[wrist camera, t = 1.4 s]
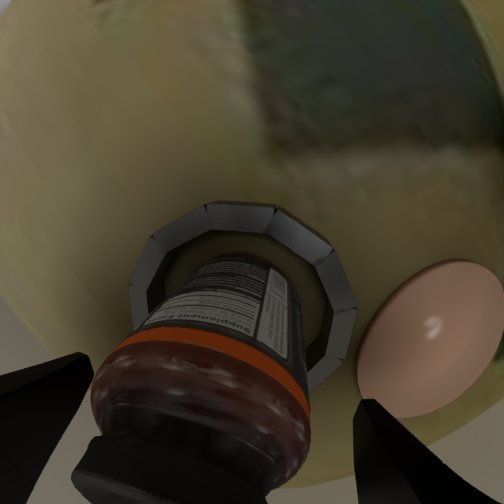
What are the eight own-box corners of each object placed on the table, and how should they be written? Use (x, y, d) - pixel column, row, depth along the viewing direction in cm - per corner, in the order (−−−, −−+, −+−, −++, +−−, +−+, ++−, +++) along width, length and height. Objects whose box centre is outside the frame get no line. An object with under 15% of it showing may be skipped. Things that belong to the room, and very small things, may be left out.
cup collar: (359, 212, 12) (372, 218, 10) (324, 390, 14) (327, 413, 12) (145, 198, 13) (124, 201, 11) (157, 368, 16) (144, 387, 14)
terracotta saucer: (516, 265, 11) (523, 269, 10) (463, 400, 14) (466, 406, 13) (380, 250, 12) (385, 254, 11) (336, 414, 15) (337, 423, 14)
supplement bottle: (282, 365, 14) (264, 566, 3) (180, 337, 15) (72, 503, 4) (316, 266, 13) (380, 516, 2) (194, 236, 13) (-14, 378, 2)
